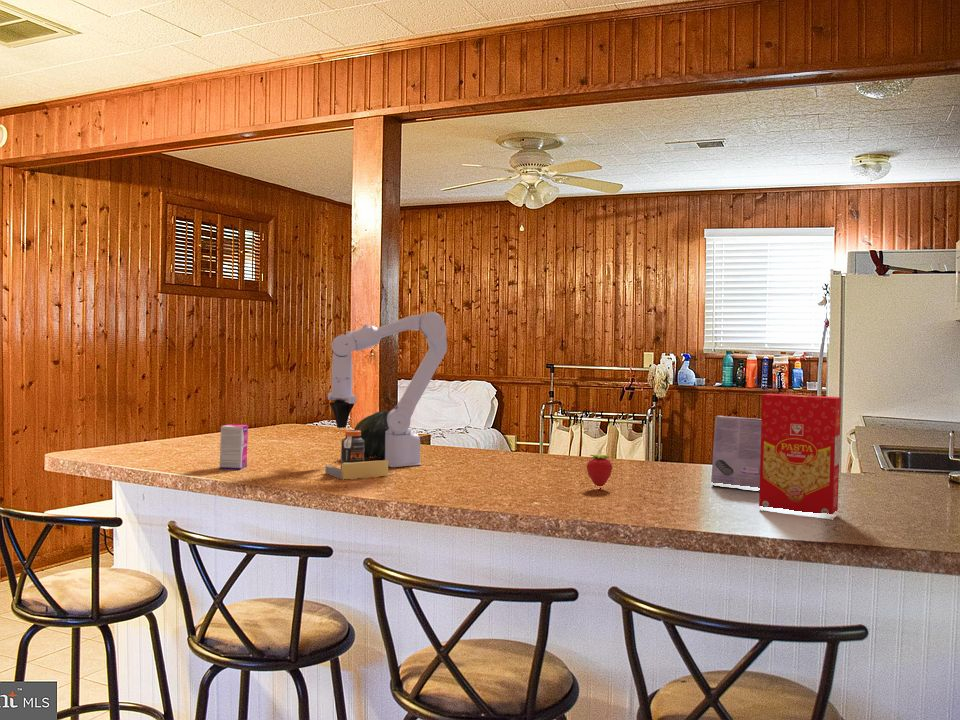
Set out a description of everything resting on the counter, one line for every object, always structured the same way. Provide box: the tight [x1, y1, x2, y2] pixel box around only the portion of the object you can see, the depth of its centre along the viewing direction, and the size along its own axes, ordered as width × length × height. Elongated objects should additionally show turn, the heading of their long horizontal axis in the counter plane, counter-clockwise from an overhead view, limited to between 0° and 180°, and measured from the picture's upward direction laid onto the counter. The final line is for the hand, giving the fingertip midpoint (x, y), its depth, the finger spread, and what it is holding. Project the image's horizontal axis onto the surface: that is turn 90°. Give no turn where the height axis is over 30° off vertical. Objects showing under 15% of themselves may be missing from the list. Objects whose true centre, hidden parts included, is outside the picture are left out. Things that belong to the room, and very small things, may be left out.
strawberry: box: [586, 449, 613, 487], centre depth 195 cm, size 6×8×10 cm
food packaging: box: [758, 393, 842, 514], centre depth 171 cm, size 15×5×25 cm, turn 56°
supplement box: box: [219, 423, 249, 471], centre depth 216 cm, size 6×6×12 cm
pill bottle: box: [340, 429, 365, 470], centre depth 211 cm, size 6×6×11 cm
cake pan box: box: [710, 415, 761, 488], centre depth 198 cm, size 19×5×18 cm, turn 59°
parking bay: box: [324, 459, 389, 481], centre depth 209 cm, size 12×11×4 cm
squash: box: [353, 410, 390, 460], centre depth 238 cm, size 14×15×15 cm
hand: (341, 427), depth 224 cm, fingers closed
